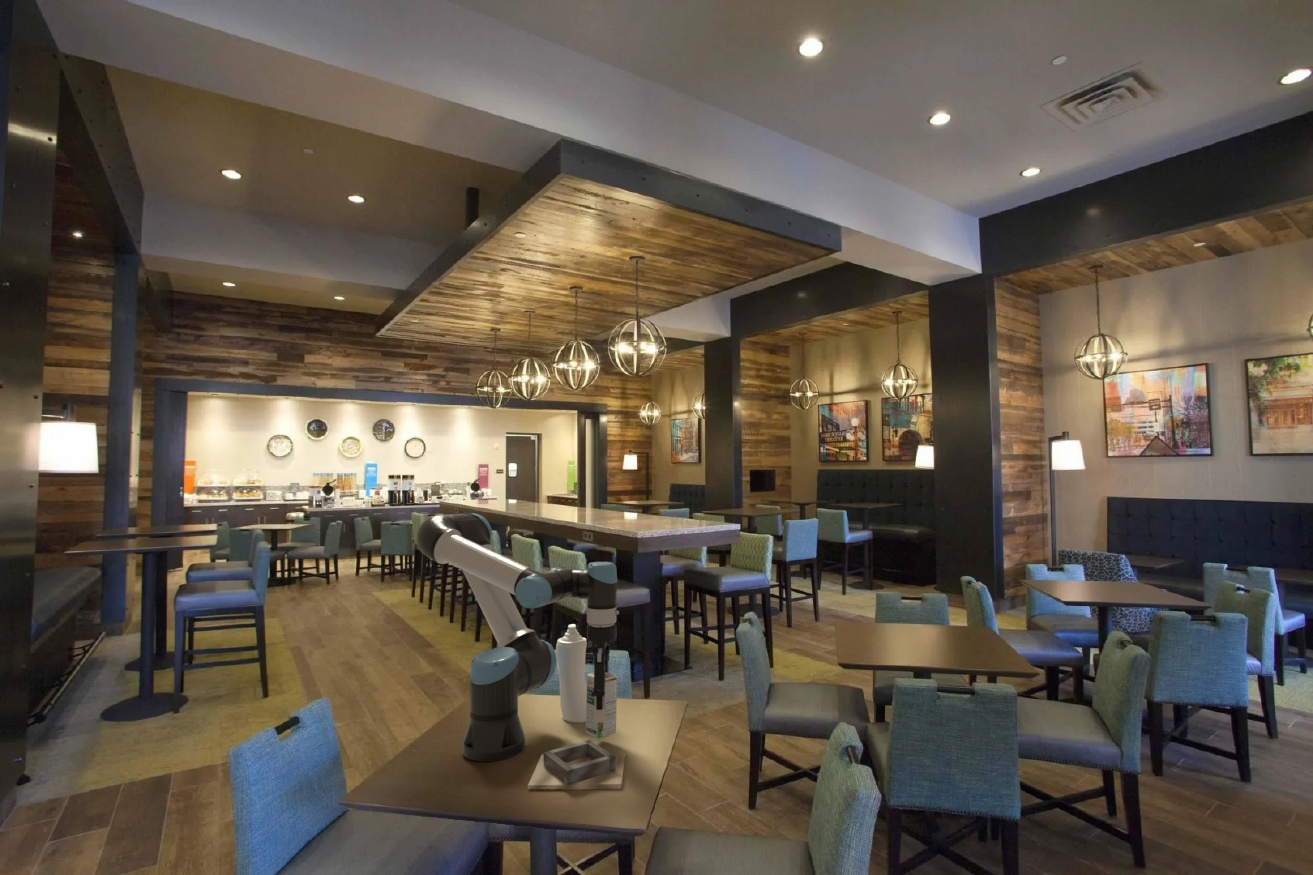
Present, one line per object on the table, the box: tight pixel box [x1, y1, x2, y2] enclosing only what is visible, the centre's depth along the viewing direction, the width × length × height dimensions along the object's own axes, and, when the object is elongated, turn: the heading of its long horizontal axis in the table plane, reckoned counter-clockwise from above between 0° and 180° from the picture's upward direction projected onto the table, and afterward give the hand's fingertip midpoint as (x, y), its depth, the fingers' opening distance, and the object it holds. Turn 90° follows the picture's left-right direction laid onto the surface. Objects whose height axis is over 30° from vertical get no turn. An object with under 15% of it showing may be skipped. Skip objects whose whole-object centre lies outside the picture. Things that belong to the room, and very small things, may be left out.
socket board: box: [527, 739, 626, 791], centre depth 144 cm, size 20×17×4 cm
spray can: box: [554, 623, 588, 723], centre depth 182 cm, size 12×11×25 cm
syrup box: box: [585, 671, 618, 740], centre depth 161 cm, size 6×6×14 cm
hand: (601, 715), depth 161 cm, fingers closed on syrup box, 8 cm apart
